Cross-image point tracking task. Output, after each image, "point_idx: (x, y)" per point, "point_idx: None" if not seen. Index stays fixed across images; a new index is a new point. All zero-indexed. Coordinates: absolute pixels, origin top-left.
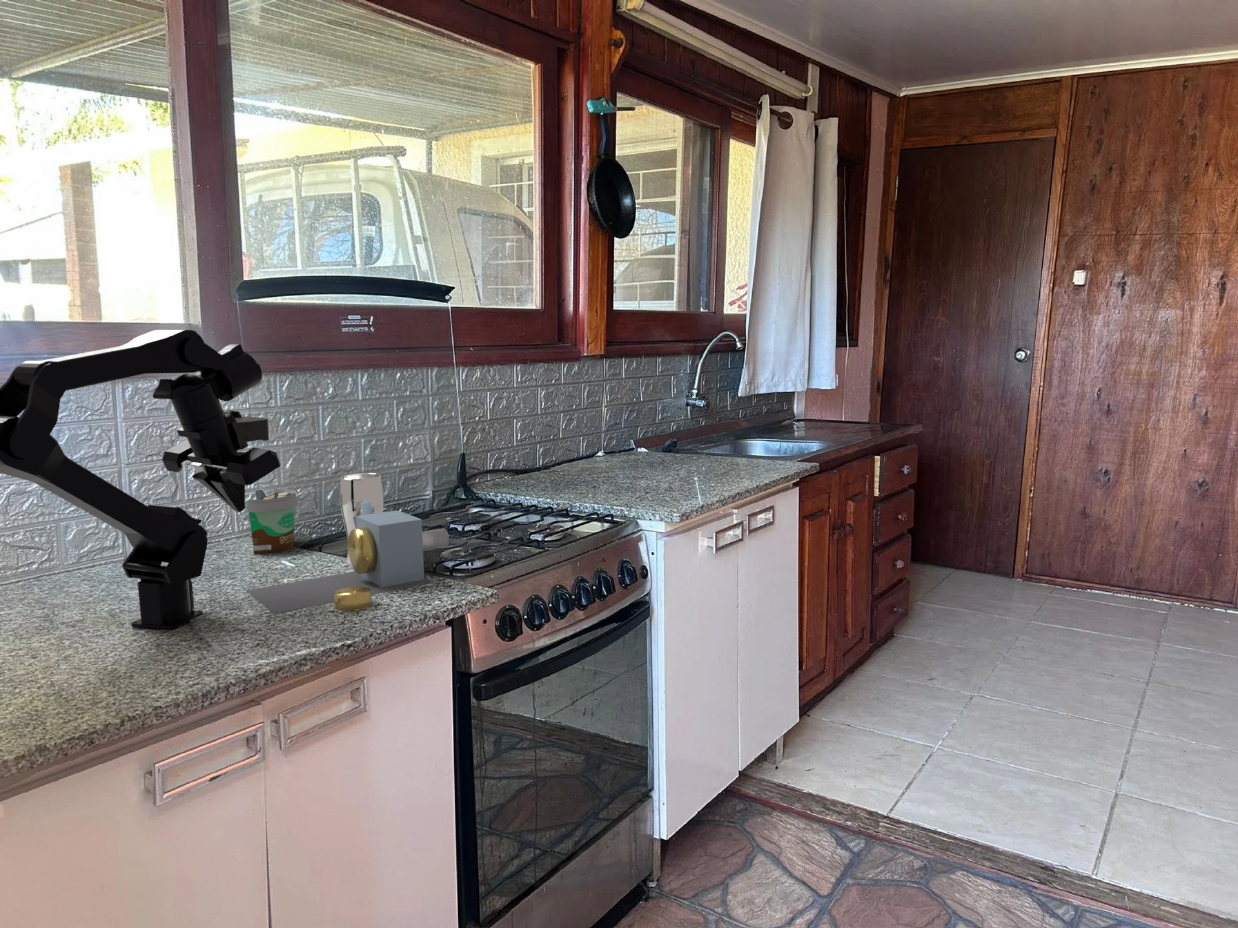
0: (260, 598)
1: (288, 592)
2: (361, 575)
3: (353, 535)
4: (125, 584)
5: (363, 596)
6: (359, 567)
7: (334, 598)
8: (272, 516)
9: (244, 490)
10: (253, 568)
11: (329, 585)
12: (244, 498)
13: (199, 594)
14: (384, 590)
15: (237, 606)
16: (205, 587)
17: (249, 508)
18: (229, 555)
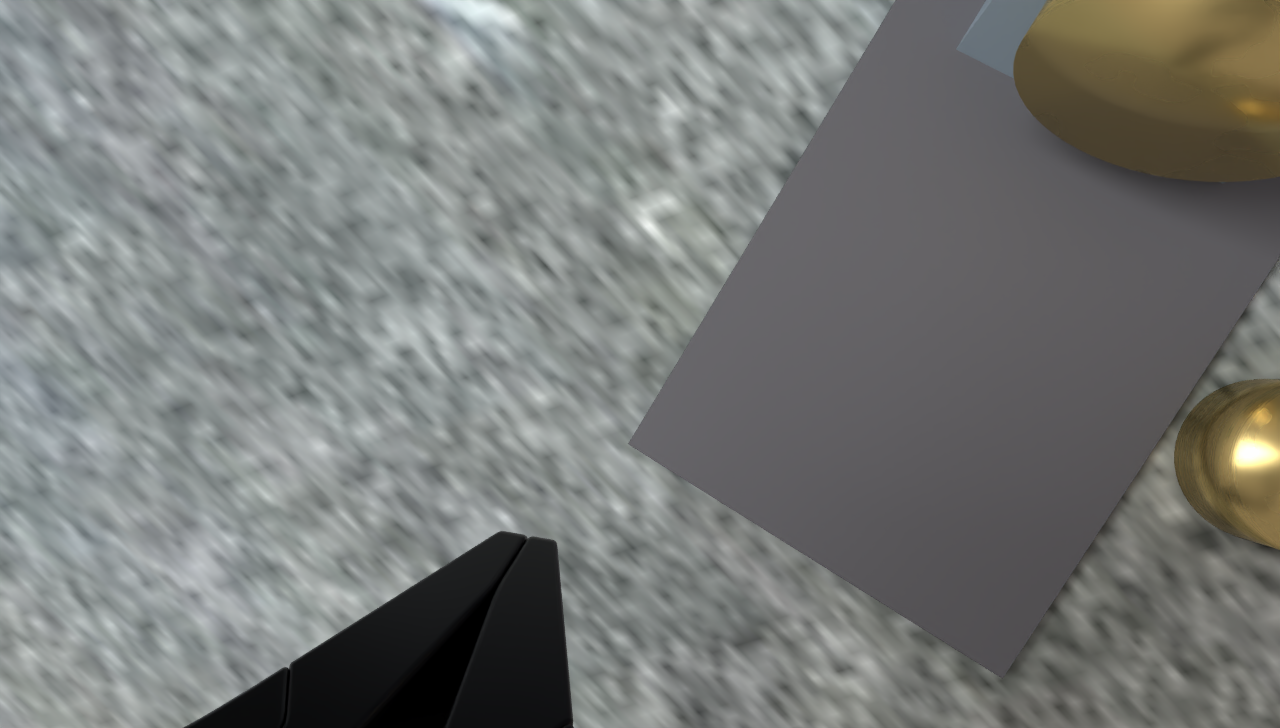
0: (778, 518)
1: (834, 406)
2: (987, 62)
3: (1205, 24)
4: (89, 505)
5: None
6: (1134, 150)
7: (1241, 525)
8: None
9: (569, 710)
10: (378, 130)
11: (941, 250)
12: (561, 620)
13: (460, 519)
14: (1270, 219)
15: (737, 604)
16: (407, 432)
17: None
18: (129, 7)
